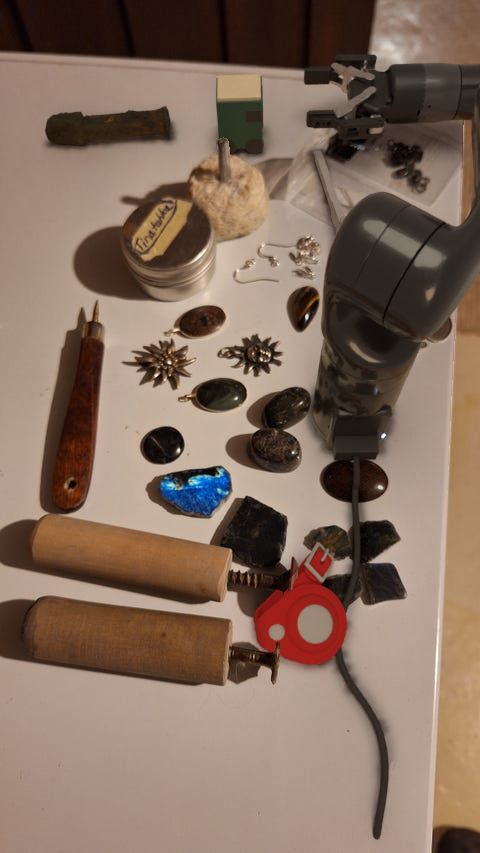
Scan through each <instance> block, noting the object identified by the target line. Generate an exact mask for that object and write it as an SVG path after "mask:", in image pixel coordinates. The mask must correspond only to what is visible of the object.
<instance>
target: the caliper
mask: <svg viewBox="0 0 480 853" xmlns="http://www.w3.org/2000/svg"><path fill="white" fill-rule="evenodd" d="M313 157H314V162H315V167H316V169H317V172H318V176H319V178H320V181H321V184H322V188H323V190H324V193H325V196H326V199H327V203H328V205H329V209H330V212H331V213H330V219H331V220H332V223H333V226H334V227H335V234H336V233H337V231H338V229H339V227H340V225H341V223H342V222H343V220H344V219H345V217H346V216H347V215H346V214H345V212H344V209H343V206H342V203H341V201H340V199H339V198H338V195H337V193H336V192H337V191H336V189H335V186H334V183H333V180H332V177H331V175H330V171H329V169H328V166H327V162H326V159H325V157H324V154H323V151H321V150H314V151H313Z"/></svg>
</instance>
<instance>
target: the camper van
mask: <svg viewBox="0 0 480 853" xmlns="http://www.w3.org/2000/svg"><path fill="white" fill-rule="evenodd" d="M215 81H216V82H215V106H216V109H215V110H216V119H217V133H218V134H217V135H218V140H219V139H220V138H223V137H224V138H227V139H228V141H229V147H230V154H229V155H231V154H234V153H235V152H236V151H237V149H239V150H241V149H245V151H247V152H248V153H250V154H258V153H261V152H262V151H263V149H264V148H265V140H264V137H263V128H264V93H263V92H264V91H263V90H264V89H263V76H261V74H260V73H252V74H251V73H250V74H225V75H224V74H222V75H221V74H220V75H217V77H216V79H215Z"/></svg>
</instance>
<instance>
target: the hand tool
mask: <svg viewBox="0 0 480 853" xmlns="http://www.w3.org/2000/svg"><path fill="white" fill-rule="evenodd" d="M171 125H172V124H171V116H170V112H169V109H168V106H167V105H163V106H162V107H161V106H160V108H156V109H152V110H151V109H150V110H133V109H132V110H130V109H128V110H126V111H125V112H117V113H115V112H114V113H105V114H91V115H87V114H86V115H84V114H83V113H82V111H72V112H67V111H66V112H58V113H57V114H51V115H50V117H49V118H47V120H46V123H45V128H44V133H45V136H46V138H47V140H48V141H49V142H50V143H54V144H60V145H77V146H84V145H86V144H87V142H90V141H98V140H114V139H124V138H126V139H127V138H142V137H153V136H165V137H166V138H167V139H170V138H171V128H172V126H171Z"/></svg>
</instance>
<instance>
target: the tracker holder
mask: <svg viewBox="0 0 480 853" xmlns="http://www.w3.org/2000/svg"><path fill="white" fill-rule="evenodd" d="M335 560H336V559H335V557H334V556H332V554H331V553H330V549H329V548H325V547H324V546H323V545H322V544H321V542H319V541H316V542H315V544H314V546H313V547H312V550H311V551H310V552H309V553H308V554H307V556H306V557H305V558H304V559H303V560H302V562H301V563H300V564H299V566H298V567H297V568H298V578H297V579H296V580H295V582H294V584H293V589H292V590H290V591H288V589H287V590H286V591H285V592H284V594H283V592H282V591H280V590H277V589H275V591H274V592H272V593H271V594H270V595H269V596H268V597H267V598H266V599H265V601H263V602H262V603H261V604H260V605H259V606H258V607H257V608H256V610H255V611H254V613H253V626H254V631H255V638H256V642H257V644H258V645H259V647H260V648H262V650H265V651H267V652H268V653H270V654H273V653H272V652H274V651H275V648H276V643H277V642H280V653H279V655H278V656H279V657H281V658H283V659H285V660H288V661H290V662H295V663H298V664H302V665H309V666H315V665H321V664H323V663H325V662H328V661H329V660H331V659H332V658H333V657H334V656H336V655H335V654H336V653H337V651H338V649H339V648H340V647H342V646H343V644H344V642H345V639H346V636H347V630H348V620H347V619H348V618H347V612H346V613H345V610H344V607H343V605H342V601H341V600H340V598H339V597H338V596H337V595H336V593H335V592H333V591H332V590H330V588H328V587H325V586H323V585H322V584H323V583H325V580H326V578H327V577H328V574H329V572H330V571H331V568H332V567H333V565H334V563H335Z"/></svg>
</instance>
